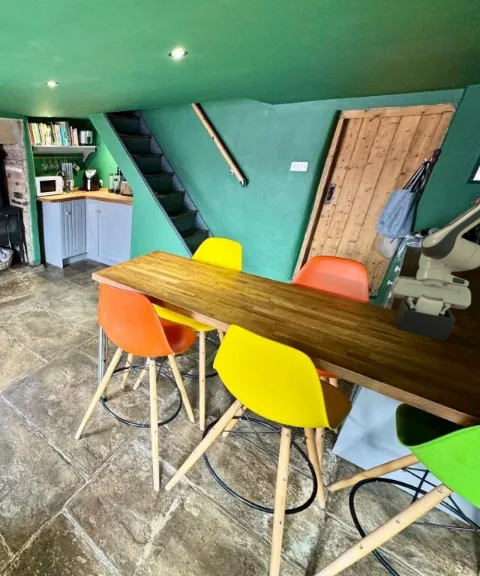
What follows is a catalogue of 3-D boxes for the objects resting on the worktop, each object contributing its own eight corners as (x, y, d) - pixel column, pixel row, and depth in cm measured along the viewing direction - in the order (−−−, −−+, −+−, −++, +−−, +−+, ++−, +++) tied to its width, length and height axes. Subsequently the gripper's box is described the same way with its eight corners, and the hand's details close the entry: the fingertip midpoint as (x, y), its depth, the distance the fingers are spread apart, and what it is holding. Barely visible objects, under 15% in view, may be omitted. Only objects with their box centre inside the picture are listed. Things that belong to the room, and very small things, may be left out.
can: (427, 325, 117) (441, 296, 112) (434, 332, 111) (448, 302, 107) (405, 320, 120) (417, 292, 115) (410, 327, 114) (423, 298, 110)
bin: (438, 327, 117) (448, 307, 114) (445, 341, 108) (456, 319, 104) (394, 318, 124) (402, 299, 121) (397, 330, 115) (405, 310, 112)
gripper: (398, 271, 120) (391, 301, 116) (475, 282, 108) (470, 316, 104) (393, 278, 125) (386, 308, 121) (466, 290, 113) (461, 323, 109)
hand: (426, 312), depth 113 cm, fingers closed on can, 6 cm apart
